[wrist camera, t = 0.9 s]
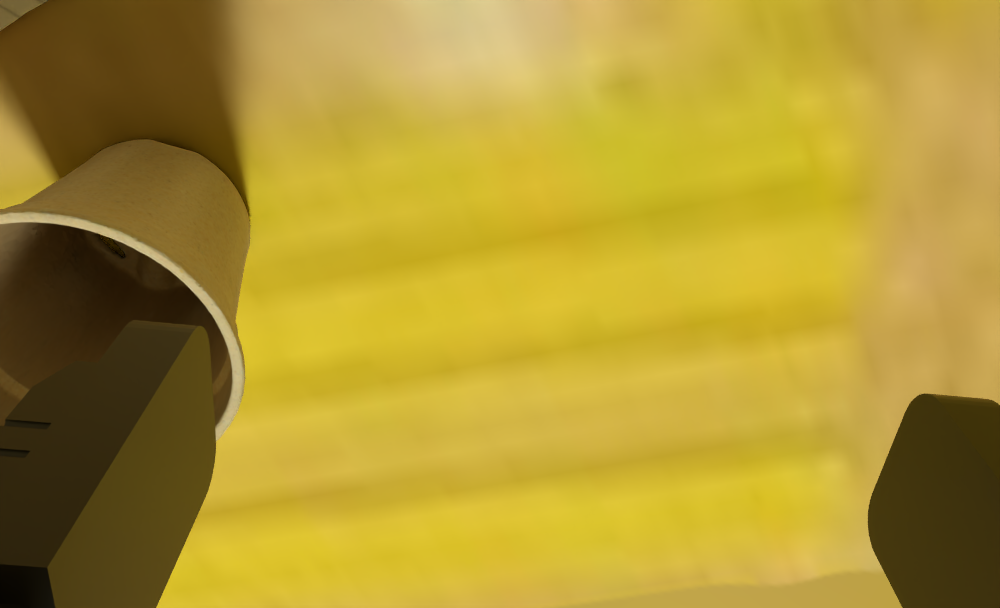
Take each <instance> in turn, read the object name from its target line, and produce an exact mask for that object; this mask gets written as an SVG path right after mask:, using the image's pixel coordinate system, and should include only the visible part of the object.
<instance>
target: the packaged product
mask: <svg viewBox="0 0 1000 608" xmlns="http://www.w3.org/2000/svg"><path fill="white" fill-rule="evenodd" d="M46 1H48V0H0V31H1V30H3V29H4V28H6V27H7V26H8V25H10V24H11V23H13V22H14V21H16V20H17V19H18V18H20V17H21V16H22V15H24V14H25V13H27V12H28V11H30V10H32V9H34V8H36V7H37V6H39V5H41V4H43V3H45V2H46Z"/></svg>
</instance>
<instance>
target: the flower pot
mask: <svg viewBox="0 0 1000 608" xmlns="http://www.w3.org/2000/svg"><path fill="white" fill-rule="evenodd" d="M99 234H101V235H104V236H106V237H109V238H112V239H113V240H114V242H115V243H116V244H117V245H118V246H119V247H120V248H121V249H122V250H123V252H124V253H125V257H123V258H122V257H121V256H120V255H119V254H118V253H116V252H113V250H112V249H110V247H109V246H108V245H107V244H105V243H104V242H103V240H102V239H101V238H100V236H99ZM249 244H250V222H249V216H248V212H247V209H246V207H245V204H244V202H243V200H242V198H241V196H240V194H239V192H238V191H237V189H236V188H235V186H234V185H233V183H232V182H231V181H230V180H229V178H228V177H227V176H226V175H225V174H224V173H223V172H222V171H221V170H220V169H219V168H218V167H217V166H215V165H214V164H213V163H212V162H210V161H209V160H207V159H206V158H205V157H203V156H201V155H200V154H198V153H196V152H194V151H190V150H185V149H182V148H178V147H175V146H171V145H167V144H164V143H161V142H157V141H154V140H149V139H141V140H132V141H126V142H121V143H118V144H115V145H112V146H109V147H107V148H105V149H103V150H101V151H100V152H98V153H97V154H96V155H94V156H93V157H92V158H91V159H89V160H88V161H87V162H85V163H84V164H82V165H81V166H79V167H78V168H76V169H75V170H73V171H72V172H70V173H69V174H67V175H66V176H64V177H63V178H61V179H60V180H58V181H57V182H55V183H53V184H52V185H50V186H49V187H47V188H46V189H44V190H43V191H41V192H39V193H38V194H36V195H35V196H33V197H32V198H30V199H28V200H27V201H25V202H24V203H22V204H18V205H15V206H11V207H8V208H5V209H0V426H4V425H5V419H6V417H7V416H8V415H9V414H10V413H11V412H12V410H13V409H14V408H15V407H16V406H17V404H18V403H19V402H20V401H21V400H22V399H23V397H24V396H25V395H26V394H27V393H28V391H29V390H30V389H31V388H32V387H33V386H34V385H36V384H38V383H39V382H41V381H43V380H44V379H46V378H48V377H49V376H51V375H53V374H54V373H56V372H58V371H59V370H61V369H63V368H64V367H66V366H68V365H69V364H71V363H73V362H74V361H86V362H97V363H98V361H99V360H100V359H101V357H102V356H103V355H104V353H105V352H106V351H107V350H108V348H109V347H110V346H111V344H112V343H113V342H114V340H115V339H116V338H117V336H118V335H119V334H120V332H121V331H122V330H123V329H124V327H125V326H126V325H127V324H128V323H129V322H131V321H133V320H139V321H150V322H161V323H172V324H183V325H194V326H202V327H204V328H205V330H206V332H207V335H208V339H209V345H210V358H211V373H212V388H213V402H214V417H215V432H216V441H217V440H218V439H219V438H220V437H221V436H222V435H223V434H224V432H225V431H226V430H227V428H228V427H229V426H230V424H231V422H232V421H233V419H234V417H235V415H236V413H237V411H238V409H239V406H240V403H241V399H242V396H243V392H244V383H245V364H244V356H243V351H242V347H241V343H240V340H239V337H238V330H237V325H236V322H235V320H236V313H237V307H238V301H239V294H240V288H241V282H242V277H243V271H244V266H245V261H246V256H247V253H248V249H249Z"/></svg>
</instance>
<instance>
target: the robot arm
mask: <svg viewBox="0 0 1000 608" xmlns="http://www.w3.org/2000/svg"><path fill="white" fill-rule="evenodd" d="M215 453H216V432H215V417H214V402H213V388H212V373H211V358H210V345H209V339H208V335H207V332H206V330H205V328H204V327H202V326H194V325H183V324H172V323H161V322H150V321H139V320H133V321H131V322H129V323H128V324H127V325H126V326H125V327H124V329H123V330H122V331H121V332H120V334H119V335H118V336H117V338H116V339H115V340H114V342H113V343H112V344H111V346H110V347H109V348H108V350H107V351H106V352H105V353H104V355H103V356H102V357H101V359H100V360H99V361H98V363H97V362H86V361H74V362H73V363H71V364H69V365H68V366H66V367H64V368H63V369H61V370H59V371H58V372H56V373H54V374H53V375H51V376H49V377H48V378H46V379H44V380H43V381H41V382H39V383H38V384H36V385H34V386H33V387H32V388H31V389H30V390H29V391H28V393H27V394H26V395H25V396H24V397H23V399H22V400H21V401H20V402H19V403H18V404H17V406H16V407H15V408H14V409H13V410H12V412H11V413H10V414H9V415H8V416H7V417H6V419H5V425H4V426H0V608H156V607H157V604H158V602H159V600H160V598H161V595H162V593H163V591H164V589H165V586H166V584H167V582H168V580H169V577H170V575H171V573H172V571H173V569H174V566H175V564H176V562H177V560H178V557H179V555H180V553H181V551H182V548H183V546H184V544H185V542H186V539H187V537H188V535H189V533H190V530H191V528H192V526H193V524H194V522H195V519H196V517H197V515H198V513H199V510H200V508H201V506H202V504H203V501H204V499H205V497H206V494H207V492H208V489H209V486H210V482H211V478H212V474H213V468H214V462H215ZM868 530H869V537H870V541H871V545H872V548H873V550H874V552H875V555H876V557H877V559H878V561H879V562H880V564H881V566H882V568H883V570H884V572H885V574H886V576H887V578H888V580H889V582H890V584H891V586H892V588H893V590H894V592H895V594H896V596H897V597H898V599H899V602H900V603H901V606H902V607H903V608H1000V405H999V404H998V403H996V402H994V401H992V400H989V399H980V398H969V397H958V396H947V395H936V394H921V395H919V396H917V397H916V398H914V399H913V400H912V402H911V403H910V404H909V406H908V408H907V410H906V412H905V414H904V417H903V419H902V422H901V424H900V427H899V429H898V432H897V434H896V436H895V439H894V441H893V444H892V446H891V449H890V451H889V454H888V456H887V459H886V461H885V464H884V466H883V469H882V471H881V473H880V476H879V478H878V481H877V483H876V486H875V488H874V491H873V493H872V496H871V499H870V504H869V510H868Z"/></svg>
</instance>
